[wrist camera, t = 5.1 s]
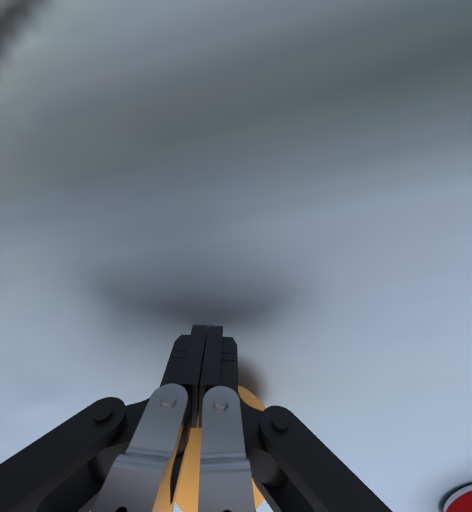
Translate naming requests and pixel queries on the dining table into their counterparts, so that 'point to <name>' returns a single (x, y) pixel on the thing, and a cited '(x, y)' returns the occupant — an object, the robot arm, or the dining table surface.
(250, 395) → the ball
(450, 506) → the beverage can
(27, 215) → the dining table surface
